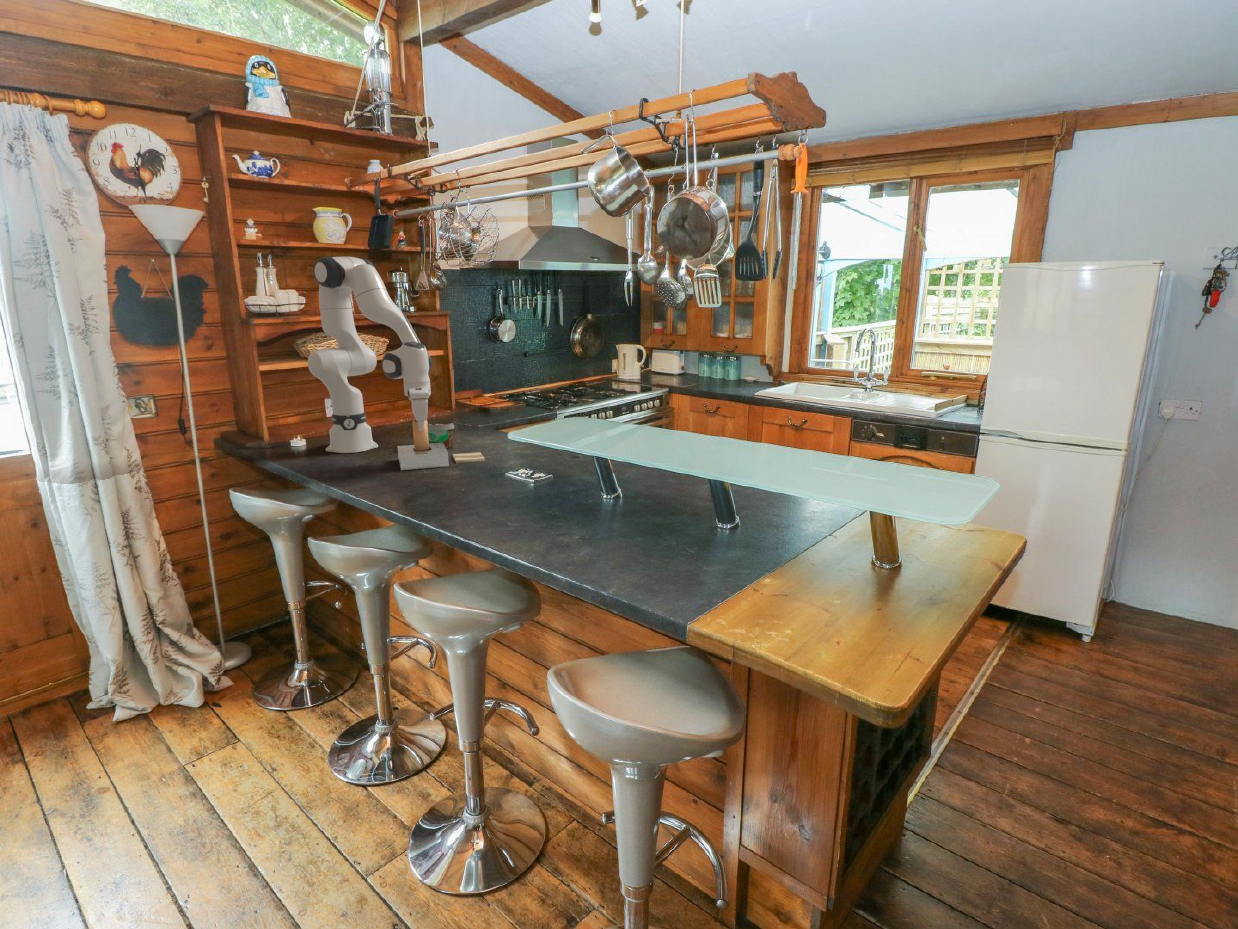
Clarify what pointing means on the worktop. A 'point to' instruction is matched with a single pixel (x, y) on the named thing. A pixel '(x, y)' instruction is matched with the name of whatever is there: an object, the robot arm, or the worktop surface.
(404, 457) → the housing
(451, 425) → the food container
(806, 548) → the worktop surface
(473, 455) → the coaster
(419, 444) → the tan grey-topped cylinder
